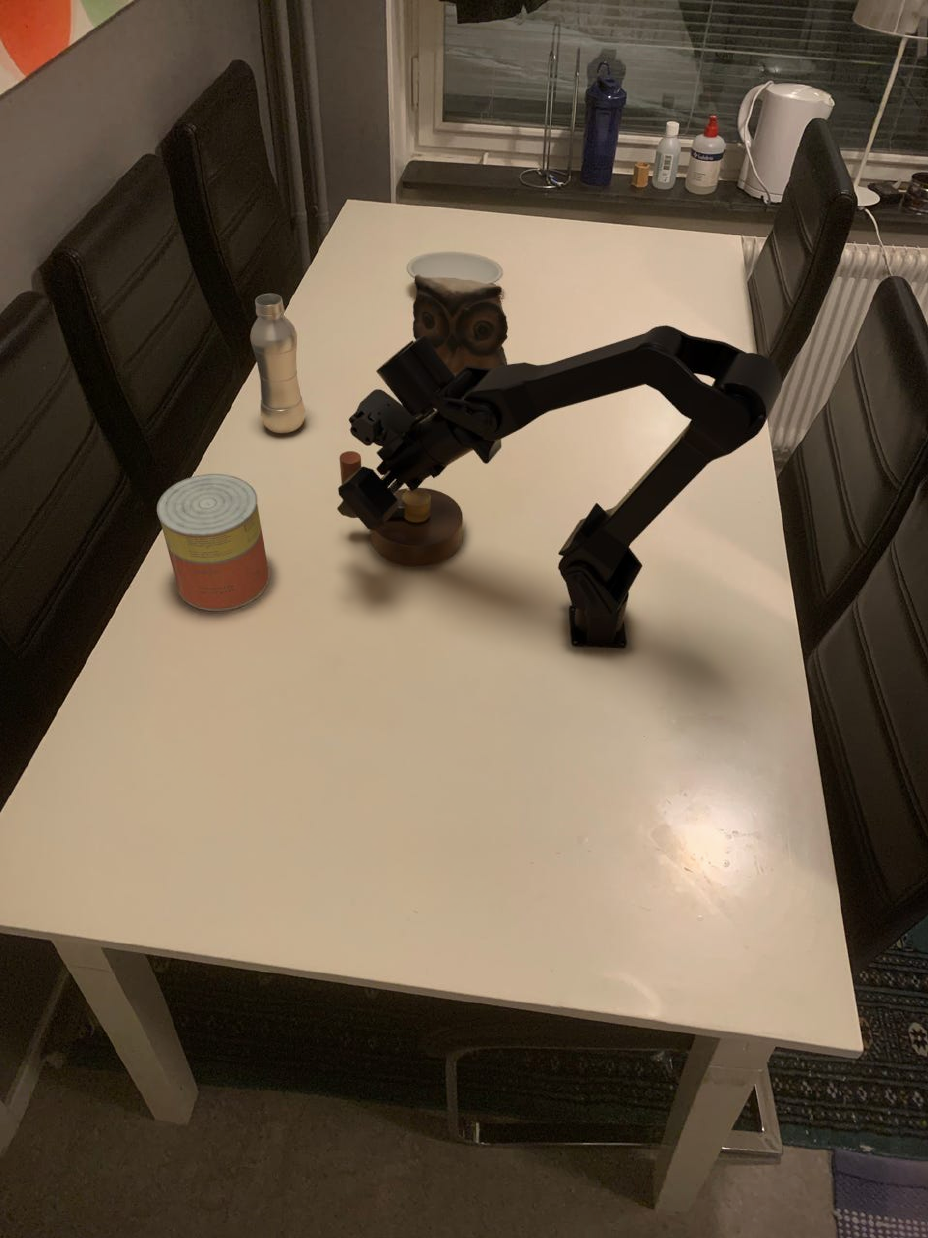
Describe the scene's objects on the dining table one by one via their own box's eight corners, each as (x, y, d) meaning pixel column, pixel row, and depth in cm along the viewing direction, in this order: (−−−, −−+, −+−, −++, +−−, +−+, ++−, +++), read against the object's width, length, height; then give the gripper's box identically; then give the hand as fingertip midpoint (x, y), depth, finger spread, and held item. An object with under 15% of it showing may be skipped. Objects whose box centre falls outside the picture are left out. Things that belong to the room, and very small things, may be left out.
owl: (511, 410, 142) (521, 287, 128) (438, 428, 138) (439, 303, 124) (475, 371, 150) (480, 251, 136) (404, 387, 146) (402, 265, 132)
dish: (400, 308, 165) (399, 281, 161) (414, 273, 175) (413, 247, 171) (496, 317, 163) (498, 290, 160) (505, 281, 173) (507, 255, 170)
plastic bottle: (253, 431, 136) (233, 304, 122) (280, 409, 141) (264, 284, 126) (289, 443, 134) (273, 315, 120) (315, 421, 139) (302, 295, 124)
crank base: (460, 568, 116) (461, 547, 114) (366, 565, 116) (365, 543, 114) (463, 509, 125) (464, 488, 122) (375, 506, 125) (374, 484, 122)
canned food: (284, 559, 116) (273, 483, 108) (246, 619, 109) (230, 543, 100) (203, 542, 118) (186, 466, 110) (160, 600, 111) (138, 523, 102)
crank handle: (430, 505, 119) (430, 448, 113) (430, 522, 116) (430, 466, 110) (344, 504, 119) (340, 448, 112) (343, 522, 116) (338, 465, 110)
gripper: (433, 344, 106) (357, 402, 117) (347, 423, 94) (272, 480, 105) (491, 421, 109) (412, 470, 120) (415, 507, 97) (335, 553, 108)
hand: (360, 490), depth 113 cm, fingers open, 9 cm apart
